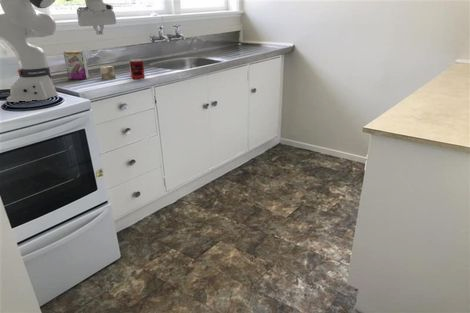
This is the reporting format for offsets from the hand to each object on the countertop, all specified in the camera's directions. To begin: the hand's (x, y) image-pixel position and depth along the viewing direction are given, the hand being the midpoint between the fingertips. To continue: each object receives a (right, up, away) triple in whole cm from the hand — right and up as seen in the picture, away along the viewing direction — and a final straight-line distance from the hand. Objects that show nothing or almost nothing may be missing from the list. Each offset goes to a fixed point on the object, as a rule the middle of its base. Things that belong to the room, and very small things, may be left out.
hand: (99, 34), depth 191 cm
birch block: (-5, -17, +28) cm, 33 cm away
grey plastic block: (+11, -14, +36) cm, 40 cm away
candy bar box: (-24, -18, +29) cm, 41 cm away
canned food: (+14, -18, +26) cm, 34 cm away
